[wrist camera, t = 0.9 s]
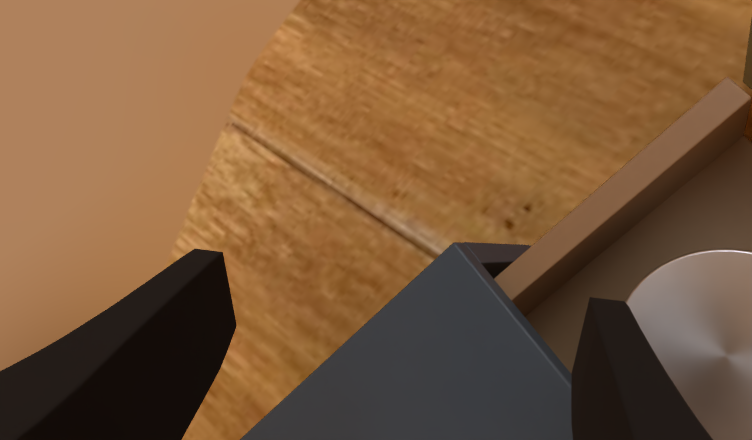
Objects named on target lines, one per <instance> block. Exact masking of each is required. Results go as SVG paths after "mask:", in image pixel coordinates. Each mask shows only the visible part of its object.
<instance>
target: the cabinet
mask: <svg viewBox="0 0 752 440" xmlns="http://www.w3.org/2000/svg"><path fill="white" fill-rule="evenodd" d="M530 247H531V246H529V245H512V244H490V243H469V242H464V243H456V242H455V243H453V244H451V245H450V246H449V247H448V248H447V249H446V250H445V251H444V252H443V253H442V254H441V255H440V256H438V257H437V258H436V259H435V260H434V261H433V262H432V263H431V264H430V265H429V266H428V267H427V268H425V269H424V270H423V271H422V272H421V273H420V274H419V275H418V276H417V277H416V278H415V279H414V280H412V281H411V282H410V283H409V284H408V285H407V286H406V287H405V288H404V289H403V290H402V291H401V292H399V293H398V294H397V295H396V296H395V297H394V298H393V299H392V300H391V301H390V302H389V303H387V304H386V305H385V306H384V307H383V308H382V309H381V310H380V311H379V312H378V313H377V314H376V315H374V316H373V317H372V318H371V319H370V320H369V321H368V322H367V323H366V324H365V325H364V326H363V327H361V328H360V329H359V330H358V331H357V332H356V333H355V334H354V335H353V336H352V337H351V338H350V339H348V340H347V341H346V342H345V343H344V344H343V345H342V346H341V347H340V348H339V349H338V350H337V351H335V352H334V353H333V354H332V355H331V356H330V357H329V358H328V359H327V360H326V361H325V362H323V363H322V364H321V365H320V366H319V367H318V368H317V369H316V370H315V371H314V372H313V373H312V374H310V375H309V376H308V377H307V378H306V379H305V380H304V381H303V382H302V383H301V384H300V385H299V386H297V387H296V388H295V389H294V390H293V391H292V392H291V393H290V394H289V395H288V396H287V397H286V398H284V399H283V400H282V401H281V402H280V403H279V404H278V405H277V406H276V407H275V408H274V409H273V410H271V411H270V412H269V413H268V414H267V415H266V416H265V417H264V418H263V419H262V420H261V421H260V422H258V423H257V424H256V425H255V426H254V427H253V428H252V429H251V430H250V431H249V432H248V433H246V434H245V435H244V436H243V437H242V438H241V439H240V440H573V434H572V425H571V373H570V372H569V370H568V369H567V368H566V367H565V366H564V364H563V363H562V362H561V361H560V359H559V358H558V357H557V356H556V355H555V353H554V352H553V351H552V350H551V348H550V347H549V346H548V345H547V344H546V342H545V341H544V340H543V339H542V337H541V336H540V335H539V334H538V333H537V331H536V330H535V329H534V328H533V326H532V325H531V324H530V323H529V322H528V320H527V319H526V318H525V317H524V315H523V314H522V313H521V312H520V311H519V309H518V308H517V307H516V306H515V304H514V303H513V302H512V301H511V300H510V298H509V297H508V296H507V295H506V293H505V292H504V291H503V290H502V288H501V287H500V286H499V285H498V284H497V282H496V281H495V280H494V278H495V277H497V276H498V275H499V274H500V273H501V272H502V271H504V270H505V269H506V268H507V267H508V266H509V265H510V264H512V263H513V262H514V261H515V260H516V259H517V258H518V257H520V256H521V255H522V254H523V253H524V252H525V251H527V250H528V249H529V248H530Z"/></svg>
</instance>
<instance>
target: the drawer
mask: <svg viewBox="0 0 752 440" xmlns="http://www.w3.org/2000/svg"><path fill="white" fill-rule="evenodd" d="M743 82H744V83H745V84H746V85H747V86H748V87H749V88H751V89H752V19H751V26H750V34H749V41H748V48H747V55H746V62H745V70H744V77H743ZM750 102H751V96H749V95H748V94H747V93H746V92H745V91H744V90H743V89H741V88H740V87H739V86H738V85H737V84H736V83H735V82H733V81H732V80H731V79H730V78H729V77H726V78H724V79H723V80H722V81H721V82H720V83H718V84H717V85H716V86H715V87H714V88H713V89H712V90H710V91H709V92H708V93H707V94H706V95H705V96H703V97H702V98H701V99H700V100H699V101H698V102H697V103H695V104H694V105H693V106H692V107H691V108H690V109H689V110H687V111H686V112H685V113H684V114H683V115H682V116H680V117H679V118H678V119H677V120H676V121H675V122H674V123H672V124H671V125H670V126H669V127H668V128H667V129H666V130H664V131H663V132H662V133H661V134H660V135H659V136H657V137H656V138H655V139H654V140H653V141H652V142H651V143H649V144H648V145H647V146H646V147H645V148H644V149H643V150H641V151H640V152H639V153H638V154H637V155H636V156H635V157H633V158H632V159H631V160H630V161H629V162H628V163H626V164H625V165H624V166H623V167H622V168H621V169H620V170H618V171H617V172H616V173H615V174H614V175H613V176H612V177H610V178H609V179H608V180H607V181H606V182H605V183H603V184H602V185H601V186H600V187H599V188H598V189H597V190H595V191H594V192H593V193H592V194H591V195H590V196H589V197H587V198H586V199H585V200H584V201H583V202H582V203H581V204H579V205H578V206H577V207H576V208H575V209H574V210H572V211H571V212H570V213H569V214H568V215H567V216H566V217H564V218H563V219H562V220H561V221H560V222H559V223H558V224H556V225H555V226H554V227H553V228H552V229H551V230H549V231H548V232H547V233H546V234H545V235H544V236H543V237H541V238H540V239H539V240H538V241H537V242H536V243H535V244H533V245H532V246H531V247H530V248H529V249H528V250H527V251H525V252H524V253H523V254H522V255H521V256H520V257H518V258H517V259H516V260H515V261H514V262H513V263H512V264H510V265H509V266H508V267H507V268H506V269H505V270H504V271H502V272H501V273H500V274H499V275H498V276H497V277H495V278H494V280H495V281H496V282H497V284H498V285H499V286H500V287H501V288H502V290H503V291H504V292H505V293H506V295H507V296H508V297H509V298H510V300H511V301H512V302H513V303H514V304H515V306H516V307H517V308H518V309H519V311H520V312H521V313H522V314H523V315H524V317H525V318H526V319H527V320H528V322H529V323H530V324H531V325H532V326H533V328H534V329H535V330H536V331H537V333H538V334H539V335H540V336H541V337H542V339H543V340H544V341H545V342H546V344H547V345H548V346H549V347H550V348H551V350H552V351H553V352H554V353H555V355H556V356H557V357H558V358H559V359H560V361H561V362H562V363H563V364H564V366H565V367H566V368H567V369H568V370H569V372H570V373H572V369H573V365H574V361H575V357H576V352H577V348H578V344H579V340H580V336H581V331H582V327H583V323H584V319H585V315H586V310H587V306H588V302H589V298H590V297H593V298H601V299H610V300H618V301H626V299H627V298H628V296H629V295H630V293H631V292H632V290H633V289H634V288H635V287H636V286H637V284H638V283H639V282H640V281H641V280H642V279H643V278H644V277H646V276H647V275H648V274H649V273H650V272H652V271H653V270H654V269H656V268H657V267H659V266H660V265H662V264H664V263H666V262H668V261H670V260H672V259H674V258H677V257H679V256H682V255H685V254H688V253H692V252H696V251H701V250H709V249H739V250H747V251H752V142H751V141H750V140H748V139H747V138H746V137H745V136H744V131H745V126H746V121H747V116H748V112H749V107H750Z"/></svg>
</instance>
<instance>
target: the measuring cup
mask: <svg viewBox="0 0 752 440" xmlns="http://www.w3.org/2000/svg"><path fill="white" fill-rule="evenodd" d="M625 302H626V304H627V305H628V306H629V307H630V309H631V311H632V313H633V315H634V317H635V319H636V321H637V323H638V324H639V326H640V328H641V330H642V332H643V333H644V335H645V337H646V339H647V340H648V342H649V344H650V346H651V347H652V349H653V351H654V352H655V354H656V356H657V357H658V359H659V361H660V362H661V364H662V366H663V367H664V369H665V371H666V372H667V374H668V375H669V377H670V378H671V380H672V381H673V383H674V384H675V386H676V387H677V389H678V391H679V392H680V394H681V395H682V397H683V398H684V400H685V401H686V403H687V404H688V406H689V407H690V408H691V410H692V411H693V413H694V414H695V416H696V417H697V418H698V420H699V421H700V423H701V424H702V425H703V427H704V428H705V429H706V431H707V432H708V433H709V435H710V436H711V438H712V439H713V440H752V251H747V250H739V249H709V250H701V251H696V252H692V253H688V254H685V255H682V256H679V257H677V258H674V259H672V260H670V261H668V262H666V263H664V264H662V265H660V266H659V267H657V268H656V269H654V270H653V271H652V272H650V273H649V274H648V275H647V276H646V277H644V278H643V279H642V280H641V281H640V282H639V283H638V284H637V286H636V287H635V288H634V289H633V290H632V292H631V293H630V295H629V296H628V298H627V299H626V301H625Z"/></svg>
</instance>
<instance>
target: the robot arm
mask: <svg viewBox="0 0 752 440" xmlns="http://www.w3.org/2000/svg"><path fill="white" fill-rule="evenodd" d="M236 326H237V325H236V320H235V315H234V310H233V304H232V299H231V294H230V288H229V283H228V278H227V273H226V267H225V262H224V257H223V252H217V251H209V250H201V249H194V250H192V251H191V252H189V253H188V254H186V255H185V256H183V257H182V258H180V259H179V260H177V261H176V262H174V263H173V264H172V265H170V266H169V267H167V268H166V269H164V270H163V271H162V272H160V273H159V274H157V275H156V276H155V277H153V278H152V279H150V280H149V281H148V282H146V283H145V284H143V285H142V286H140V287H139V288H137V289H136V290H134V291H133V292H132V293H130V294H129V295H127V296H126V297H124V298H123V299H121V300H120V301H119V302H117V303H116V304H114V305H113V306H111V307H110V308H108V309H107V310H105V311H104V312H102V313H100V314H99V315H97V316H96V317H94V318H92V319H91V320H90V321H88V322H86V323H85V324H83V325H81V326H80V327H79V328H77V329H75V330H74V331H72V332H70V333H69V334H67V335H66V336H64V337H62V338H61V339H59V340H57V341H56V342H54V343H52V344H50V345H49V346H47V347H45V348H43V349H41V350H40V351H38V352H36V353H34V354H32V355H31V356H29V357H27V358H25V359H23V360H21V361H19V362H17V363H16V364H13V365H12V366H10V367H8V368H6V369H4V370H2V371H0V440H181V439H182V437H183V436H184V434H185V432H186V430H187V428H188V427H189V425H190V423H191V421H192V419H193V418H194V416H195V414H196V412H197V410H198V409H199V407H200V405H201V403H202V401H203V399H204V398H205V396H206V394H207V392H208V390H209V388H210V387H211V385H212V383H213V381H214V379H215V377H216V375H217V374H218V372H219V370H220V367H221V365H222V363H223V360H224V358H225V355H226V353H227V350H228V347H229V345H230V342H231V339H232V337H233V334H234V331H235V329H236ZM571 425H572V434H573V440H713V439H712V438H711V436H710V435H709V433H708V432H707V431H706V429H705V428H704V427H703V425H702V424H701V423H700V421H699V420H698V418H697V417H696V416H695V414H694V413H693V411H692V410H691V408H690V407H689V406H688V404H687V403H686V401H685V400H684V398H683V397H682V395H681V394H680V392H679V391H678V389H677V387H676V386H675V384H674V383H673V381H672V380H671V378H670V377H669V375H668V374H667V372H666V371H665V369H664V367H663V366H662V364H661V362H660V361H659V359H658V357H657V356H656V354H655V352H654V351H653V349H652V347H651V346H650V344H649V342H648V340H647V339H646V337H645V335H644V333H643V332H642V330H641V328H640V326H639V324H638V323H637V321H636V319H635V317H634V315H633V313H632V311H631V309H630V307H629V306H628V305H627V304H626V302H625V301H618V300H610V299H601V298H593V297H590V298H589V302H588V306H587V310H586V315H585V319H584V323H583V327H582V331H581V336H580V340H579V344H578V348H577V352H576V357H575V361H574V365H573V369H572V373H571Z"/></svg>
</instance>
